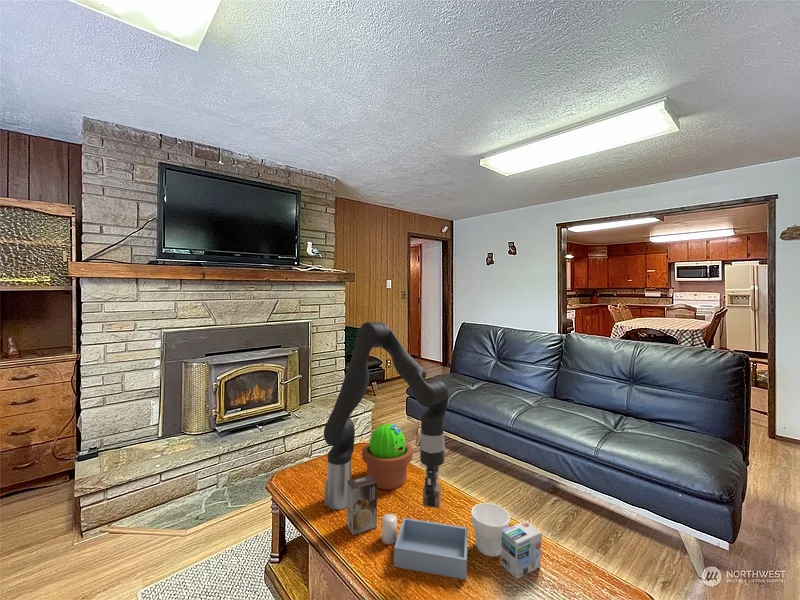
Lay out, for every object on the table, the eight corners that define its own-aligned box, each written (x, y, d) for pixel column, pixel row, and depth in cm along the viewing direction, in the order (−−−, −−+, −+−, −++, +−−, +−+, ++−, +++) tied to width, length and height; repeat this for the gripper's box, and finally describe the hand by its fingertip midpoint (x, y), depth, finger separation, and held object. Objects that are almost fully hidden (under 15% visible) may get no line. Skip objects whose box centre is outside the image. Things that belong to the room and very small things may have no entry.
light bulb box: (516, 580, 102) (517, 543, 102) (499, 564, 108) (500, 530, 108) (541, 567, 107) (542, 532, 107) (524, 553, 113) (525, 520, 113)
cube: (422, 506, 107) (423, 489, 107) (425, 497, 112) (425, 481, 112) (439, 508, 106) (439, 491, 106) (441, 499, 111) (441, 483, 111)
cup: (503, 567, 106) (504, 531, 106) (464, 551, 113) (465, 517, 113) (513, 543, 117) (514, 510, 117) (477, 529, 124) (478, 498, 123)
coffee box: (370, 517, 129) (371, 474, 129) (377, 528, 123) (378, 482, 123) (346, 524, 125) (347, 479, 124) (352, 535, 119) (353, 488, 119)
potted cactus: (351, 479, 155) (352, 423, 155) (385, 462, 172) (386, 411, 171) (387, 499, 141) (389, 437, 140) (421, 478, 157) (422, 423, 157)
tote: (393, 566, 106) (394, 547, 106) (403, 534, 120) (403, 517, 120) (466, 579, 102) (466, 560, 101) (467, 545, 116) (467, 527, 116)
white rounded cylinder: (380, 542, 116) (380, 522, 116) (383, 533, 121) (384, 512, 121) (394, 545, 115) (395, 524, 115) (397, 535, 120) (398, 515, 120)
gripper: (424, 436, 117) (423, 487, 117) (416, 455, 103) (416, 513, 103) (446, 438, 115) (446, 490, 115) (441, 457, 101) (441, 516, 101)
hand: (432, 500), depth 109 cm, fingers closed on cube, 5 cm apart
